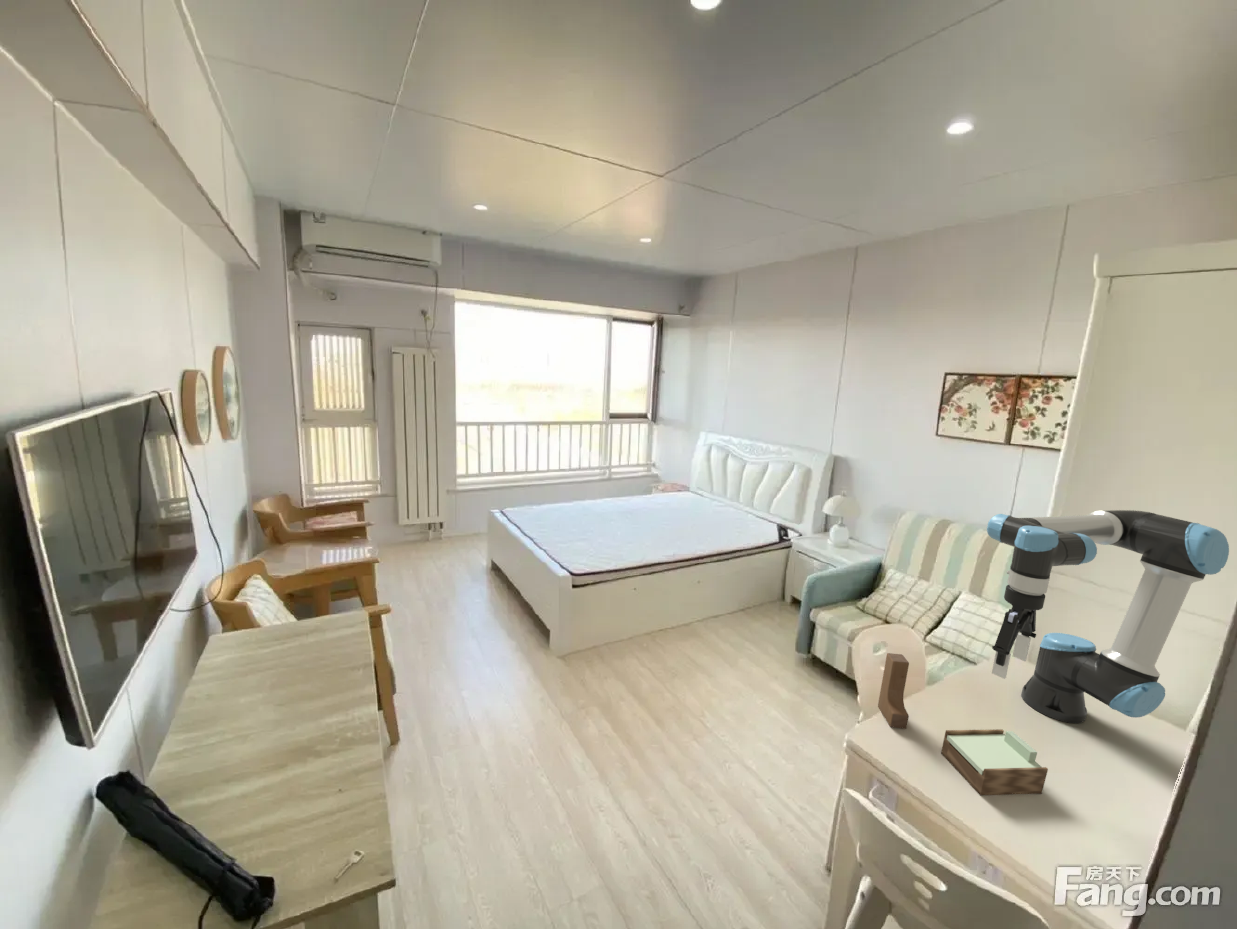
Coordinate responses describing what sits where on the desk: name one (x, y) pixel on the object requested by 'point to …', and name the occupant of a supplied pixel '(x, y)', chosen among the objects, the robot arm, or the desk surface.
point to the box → (994, 771)
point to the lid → (995, 751)
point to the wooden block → (894, 691)
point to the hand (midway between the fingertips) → (1009, 666)
